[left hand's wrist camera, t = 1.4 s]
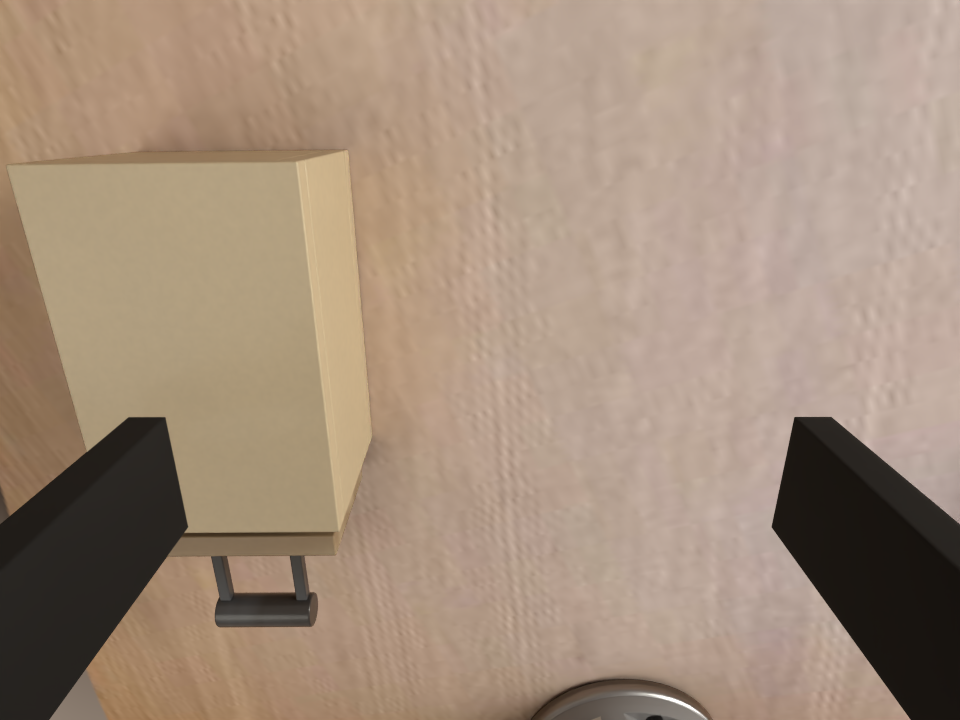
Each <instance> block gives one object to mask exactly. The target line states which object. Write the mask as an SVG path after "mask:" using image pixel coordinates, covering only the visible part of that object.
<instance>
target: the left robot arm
mask: <svg viewBox="0 0 960 720" xmlns="http://www.w3.org/2000/svg"><path fill="white" fill-rule="evenodd" d="M187 528H188V523H187V518H186V514H185V509H184V504H183V499H182V494H181V490H180V485H179V480H178V475H177V470H176V466H175V461H174V456H173V451H172V446H171V441H170V437H169V432H168V427H167V422H166V417H128V418H127V419H126V420H125V421H123V422H122V423H121V424H120V425H119V426H117V427H116V428H115V429H114V430H113V431H111V432H110V433H109V434H108V435H107V436H105V437H104V438H103V439H102V440H101V441H99V442H98V443H97V444H96V445H95V446H93V447H92V448H91V449H90V450H89V451H88V452H86V453H85V454H84V455H83V456H82V457H80V458H79V459H78V460H77V461H76V462H74V463H73V464H72V465H71V466H70V467H68V468H67V469H66V470H65V471H64V472H62V473H61V474H60V475H59V476H58V477H56V478H55V479H54V480H53V481H52V482H50V483H49V484H48V485H47V486H46V487H44V488H43V489H42V490H41V491H40V492H38V493H37V494H36V495H35V496H34V497H32V498H31V499H30V500H29V501H28V502H26V503H25V504H24V505H23V506H22V507H20V508H19V509H18V510H17V511H16V512H14V513H13V514H12V515H11V516H10V517H9V518H7V519H6V520H5V521H4V522H3V523H1V524H0V720H49V719H50V718H51V716H52V715H53V714H54V712H55V711H56V710H57V708H58V707H59V705H60V704H61V703H62V701H63V700H64V698H65V697H66V696H67V694H68V693H69V692H70V690H71V689H72V687H73V686H74V685H75V683H76V682H77V680H78V679H79V678H80V676H81V675H82V674H83V672H84V671H85V669H86V668H87V667H88V665H89V664H90V662H91V661H92V660H93V658H94V657H95V656H96V654H97V653H98V651H99V650H100V649H101V647H102V646H103V645H104V643H105V642H106V640H107V639H108V638H109V636H110V635H111V633H112V632H113V631H114V629H115V628H116V627H117V625H118V624H119V622H120V621H121V620H122V618H123V617H124V615H125V614H126V613H127V611H128V610H129V609H130V607H131V606H132V604H133V603H134V602H135V600H136V599H137V597H138V596H139V595H140V593H141V592H142V591H143V589H144V588H145V586H146V585H147V584H148V582H149V581H150V579H151V578H152V577H153V575H154V574H155V573H156V571H157V570H158V568H159V567H160V566H161V564H162V563H163V561H164V560H165V559H166V557H167V556H168V555H169V553H170V552H171V550H172V549H173V548H174V546H175V545H176V544H177V542H178V541H179V539H180V538H181V537H182V535H183V534H184V532H185V531H186V530H187ZM772 528H773V530H774V531H775V532H776V534H777V535H778V537H779V538H780V539H781V541H782V542H783V544H784V545H785V546H786V548H787V549H788V550H789V552H790V553H791V555H792V556H793V557H794V559H795V560H796V561H797V563H798V564H799V566H800V567H801V568H802V570H803V571H804V573H805V574H806V575H807V577H808V578H809V579H810V581H811V582H812V584H813V585H814V586H815V588H816V589H817V591H818V592H819V593H820V595H821V596H822V597H823V599H824V600H825V602H826V603H827V604H828V606H829V607H830V609H831V610H832V611H833V613H834V614H835V615H836V617H837V618H838V620H839V621H840V622H841V624H842V625H843V627H844V628H845V629H846V631H847V632H848V633H849V635H850V636H851V638H852V639H853V640H854V642H855V643H856V645H857V646H858V647H859V649H860V650H861V651H862V653H863V654H864V656H865V657H866V658H867V660H868V661H869V662H870V664H871V665H872V667H873V668H874V669H875V671H876V672H877V674H878V675H879V676H880V678H881V679H882V680H883V682H884V683H885V685H886V686H887V687H888V689H889V690H890V692H891V693H892V694H893V696H894V697H895V698H896V700H897V701H898V703H899V704H900V705H901V707H902V708H903V710H904V711H905V712H906V714H907V715H908V716H909V718H910V719H911V720H960V524H959V523H957V522H956V521H955V520H954V519H953V518H951V517H950V516H949V515H948V514H947V513H946V512H944V511H943V510H942V509H941V508H940V507H938V506H937V505H936V504H935V503H934V502H932V501H931V500H930V499H929V498H928V497H926V496H925V495H924V494H923V493H922V492H920V491H919V490H918V489H917V488H916V487H914V486H913V485H912V484H911V483H910V482H908V481H907V480H906V479H905V478H904V477H902V476H901V475H900V474H899V473H898V472H896V471H895V470H894V469H893V468H892V467H890V466H889V465H888V464H887V463H886V462H884V461H883V460H882V459H881V458H880V457H878V456H877V455H876V454H875V453H874V452H872V451H871V450H870V449H869V448H868V447H867V446H865V445H864V444H863V443H862V442H861V441H859V440H858V439H857V438H856V437H855V436H853V435H852V434H851V433H850V432H849V431H847V430H846V429H845V428H844V427H843V426H841V425H840V424H839V423H838V422H837V421H835V420H834V419H833V418H832V417H794V422H793V427H792V432H791V437H790V441H789V446H788V451H787V456H786V461H785V466H784V470H783V475H782V480H781V485H780V490H779V494H778V499H777V504H776V509H775V514H774V518H773V523H772Z"/></svg>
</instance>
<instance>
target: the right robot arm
mask: <svg viewBox="0 0 960 720" xmlns="http://www.w3.org/2000/svg"><path fill="white" fill-rule="evenodd" d="M532 720H712V718H711V716H710V715H709V713H708V712H707V711H706V710H705V708H704V707H703V706H702V705H700V704H699V703H698V702H697V701H696V700H695V699H693V698H692V697H690V696H689V695H687V694H685V693H684V692H682V691H680V690H678V689H675V688H673V687H670V686H667V685H664V684H660V683H656V682H651V681H645V680H634V679H618V680H608V681H602V682H596V683H592V684H588V685H585V686H582V687H578V688H576V689H573V690H571V691H569V692H567V693H565V694H563V695H561V696H559V697H557V698H556V699H554V700H552V701H551V702H550V703H548V704H547V705H546V706H544V707H543V708H542V709H541V710H540V711H539V712H538V713H537V714H536V715H535V716H534V717H533V718H532Z"/></svg>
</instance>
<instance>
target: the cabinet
mask: <svg viewBox="0 0 960 720" xmlns="http://www.w3.org/2000/svg"><path fill="white" fill-rule="evenodd" d="M6 168H7V172H8V175H9V179H10V183H11V186H12V190H13V193H14V197H15V200H16V204H17V207H18V211H19V214H20V218H21V221H22V225H23V229H24V232H25V236H26V239H27V243H28V246H29V250H30V253H31V257H32V260H33V264H34V267H35V271H36V275H37V278H38V282H39V285H40V289H41V292H42V296H43V299H44V303H45V306H46V310H47V313H48V317H49V321H50V324H51V328H52V331H53V335H54V338H55V342H56V345H57V349H58V352H59V356H60V359H61V363H62V367H63V370H64V374H65V377H66V381H67V384H68V388H69V391H70V395H71V398H72V402H73V405H74V409H75V413H76V416H77V420H78V423H79V427H80V430H81V434H82V437H83V441H84V444H85V448H86V452H88V451H89V450H90V449H91V448H92V447H93V446H95V445H96V444H97V443H98V442H99V441H101V440H102V439H103V438H104V437H105V436H107V435H108V434H109V433H110V432H111V431H113V430H114V429H115V428H116V427H117V426H119V425H120V424H121V423H122V422H123V421H125V420H126V419H127V418H128V417H166V422H167V427H168V432H169V437H170V441H171V446H172V451H173V456H174V461H175V466H176V470H177V475H178V480H179V485H180V490H181V494H182V499H183V504H184V509H185V514H186V518H187V523H188V528H187V530H186V531H185V532H184V533H249V532H339V531H340V529H341V526H342V523H343V520H344V517H345V514H346V511H347V508H348V505H349V502H350V499H351V496H352V494H353V491H354V488H355V485H356V482H357V479H358V476H359V473H360V470H361V467H362V464H363V462H364V459H365V456H366V453H367V450H368V447H369V444H370V441H371V438H372V428H371V416H370V405H369V393H368V381H367V369H366V357H365V345H364V334H363V322H362V310H361V298H360V286H359V274H358V263H357V251H356V239H355V227H354V215H353V204H352V192H351V180H350V168H349V156H348V150H277V151H178V152H131V153H120V154H109V155H99V156H88V157H78V158H67V159H57V160H46V161H36V162H26V163H16V164H8V165H6Z"/></svg>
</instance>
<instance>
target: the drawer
mask: <svg viewBox="0 0 960 720" xmlns="http://www.w3.org/2000/svg"><path fill="white" fill-rule="evenodd" d="M361 479H362V470H360V473H359V476H358V479H357V482H356V485H355V488H354V491H353V494H352V496H351V499H350V502H349V505H348V508H347V511H346V514H345V517H344V520H343V523H342V526H341V529H340V531H339V532H249V533H184V534H183V535H182V537H181V538H180V539H179V541H178V542H177V544H176V545H175V546H174V548H173V549H172V550H171V552H170V553H169V555H168V556H211V558H212V563H213V568H214V573H215V577H216V582H217V587H218V591H219V596H220V597H219V599H218V601H217V604H216V609H215V622H216V625H217V626H218V627H312V626H313V625H314V623H315V621H316V617H317V611H318V598H317V594H316V593H314V592H309V585H308V578H307V571H306V564H305V557H304V556H321V555H336V554H337V551H338V548H339V545H340V542H341V539H342V536H343V533H344V530H345V527H346V524H347V521H348V518H349V515H350V512H351V509H352V506H353V503H354V500H355V497H356V494H357V491H358V488H359V485H360V482H361ZM168 556H167V557H168ZM227 556H290V560H291V567H292V573H293V580H294V586H295V592H294V593H234V589H233V584H232V579H231V574H230V569H229V564H228V559H227Z"/></svg>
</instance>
